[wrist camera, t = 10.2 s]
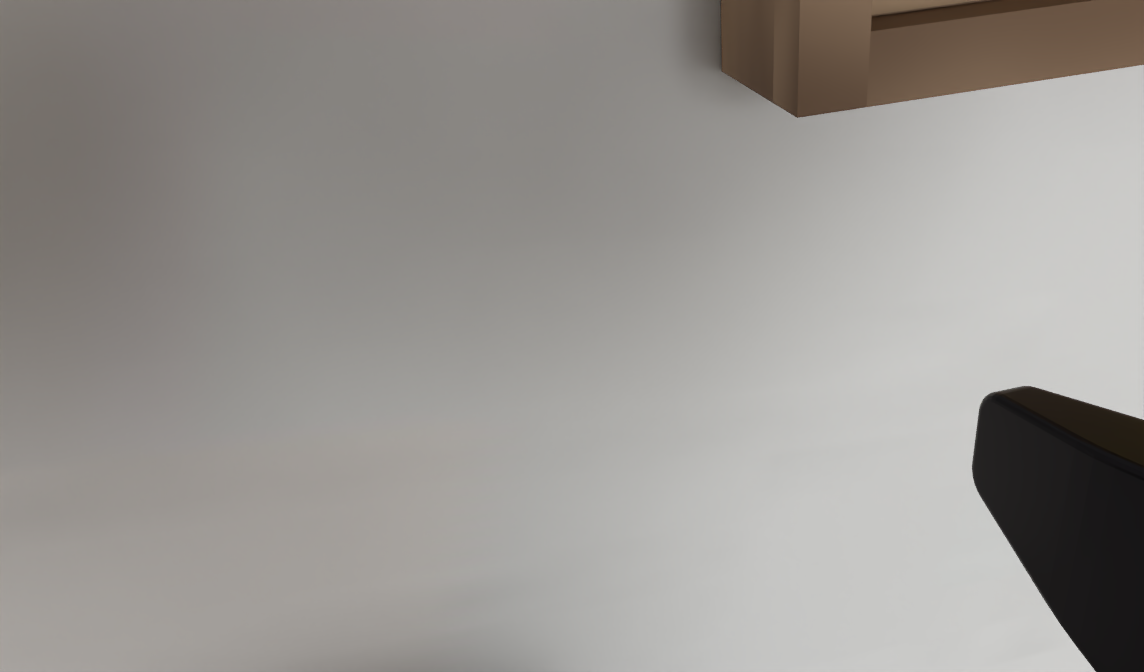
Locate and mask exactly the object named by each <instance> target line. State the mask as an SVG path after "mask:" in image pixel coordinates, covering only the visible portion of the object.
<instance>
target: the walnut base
mask: <svg viewBox="0 0 1144 672" xmlns="http://www.w3.org/2000/svg"><path fill="white" fill-rule="evenodd" d="M721 47H722V72H724V73H725V74H727V75H729V76H730V77H732V78H733V79H735V80H737V81H738V82H740V83H742V84H743V85H745V86H746V87H748V88H750V89H751V90H753V91H755V92H756V93H758V94H760V95H761V96H763V97H764V98H766V99H768V100H769V101H771V102H773V103H774V104H776V105H777V106H779V107H781V108H782V109H784V110H786V111H787V112H789V113H791V114H792V115H794V116H795V117H797V118H798V117H805V116H811V115H818V114H824V113H831V112H837V111H844V110H850V109H857V108H863V107H870V106H877V105H883V104H890V103H896V102H903V101H909V100H916V99H922V98H929V97H935V96H942V95H948V94H955V93H961V92H968V91H975V90H981V89H988V88H994V87H1001V86H1007V85H1014V84H1020V83H1027V82H1033V81H1040V80H1046V79H1053V78H1059V77H1066V76H1072V75H1079V74H1086V73H1092V72H1099V71H1105V70H1112V69H1118V68H1125V67H1131V66H1138V65H1144V0H721Z"/></svg>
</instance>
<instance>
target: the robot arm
mask: <svg viewBox="0 0 1144 672" xmlns="http://www.w3.org/2000/svg"><path fill="white" fill-rule="evenodd" d="M972 472H973V479H974V483H975V486H976V488H977V491H978V493H979V495H980V496H981V498H982V500H983V501H984V503H985V504H986V506H987V508H988V509H989V511H990V513H991V514H992V516H993V517H994V519H995V521H996V522H997V524H998V526H999V527H1000V529H1001V530H1002V532H1003V534H1004V535H1005V537H1006V538H1007V540H1008V542H1009V543H1010V545H1011V547H1012V548H1013V550H1014V551H1015V553H1016V555H1017V556H1018V558H1019V559H1020V561H1021V563H1022V564H1023V566H1024V568H1025V569H1026V571H1027V572H1028V574H1029V576H1030V577H1031V579H1032V581H1033V582H1034V584H1035V585H1036V587H1037V589H1038V590H1039V592H1040V593H1041V595H1042V597H1043V598H1044V600H1045V602H1046V603H1047V605H1048V606H1049V608H1050V609H1051V611H1052V612H1053V614H1054V615H1055V617H1056V618H1057V620H1058V621H1059V623H1060V624H1061V626H1062V627H1063V628H1064V630H1065V631H1066V633H1067V634H1068V635H1069V637H1070V638H1071V639H1072V641H1073V642H1074V644H1075V645H1076V646H1077V648H1078V649H1079V650H1080V652H1081V653H1082V654H1083V655H1084V657H1085V658H1086V659H1087V661H1088V662H1089V663H1090V665H1091V666H1092V667H1093V668H1094V670H1095V671H1096V672H1144V420H1142V419H1139V418H1136V417H1132V416H1129V415H1126V414H1122V413H1119V412H1116V411H1112V410H1109V409H1106V408H1102V407H1099V406H1096V405H1092V404H1089V403H1086V402H1082V401H1079V400H1076V399H1072V398H1069V397H1065V396H1062V395H1059V394H1055V393H1052V392H1049V391H1045V390H1042V389H1039V388H1035V387H1031V386H1021V387H1016V388H1012V389H1007V390H1002V391H998V392H993V393H990V394H989V395H987V396H986V397H985V398H984V399H983V401H982V403H981V405H980V409H979V415H978V423H977V431H976V439H975V447H974V455H973V463H972Z"/></svg>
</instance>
